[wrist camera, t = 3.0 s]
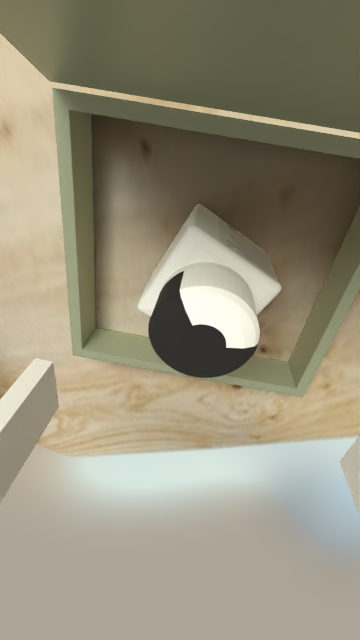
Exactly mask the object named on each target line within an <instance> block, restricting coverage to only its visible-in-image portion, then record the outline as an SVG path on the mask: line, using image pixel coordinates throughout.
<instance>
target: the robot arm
mask: <svg viewBox="0 0 360 640" xmlns="http://www.w3.org/2000/svg"><path fill="white" fill-rule="evenodd" d="M58 407H59V404H58V396H57V389H56V381H55V373H54V365H53V362H52V361H46V360H41V359H36V358H35V359H34V360H33V362H32V363H31V364H30V365H29V366H28V367H27V369H26V370H25V371H24V372H23V373H22V375H21V376H20V377H19V378H18V379H17V381H16V382H15V383H14V384H13V385H12V386H11V388H10V389H9V390H8V391H7V392H6V394H5V395H4V396H3V397H2V398H1V400H0V503H1V501H2V499H3V498H4V496H5V494H6V493H7V491H8V489H9V488H10V486H11V484H12V482H13V481H14V479H15V478H16V476H17V474H18V473H19V471H20V470H21V468H22V466H23V465H24V463H25V461H26V460H27V458H28V456H29V455H30V452H31V451H32V449H33V448H34V446H35V445H36V443H37V441H38V440H39V438H40V436H41V435H42V433H43V431H44V430H45V428H46V427H47V425H48V423H49V422H50V420H51V418H52V417H53V415H54V413H55V412H56V410H57V408H58ZM340 463H341V466H342V469H343V472H344V474H345V477H346V480H347V483H348V485H349V488H350V491H351V494H352V496H353V499H354V502H355V505H356V507H357V510H358V513H359V516H360V436H359V437H358V438H357V439H356V441H355V442H354V443H353V445H352V446H351V447H350V449H349V450H348V451H347V453H346V454H345V455H344V457H343V458H342V459H341V460H340Z"/></svg>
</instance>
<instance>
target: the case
mask: <svg viewBox="0 0 360 640" xmlns="http://www.w3.org/2000/svg"><path fill="white" fill-rule="evenodd" d="M52 90H53V103H54V116H55V129H56V142H57V155H58V168H59V181H60V194H61V207H62V220H63V233H64V246H65V259H66V272H67V285H68V298H69V311H70V324H71V337H72V350H73V355H75V356H80V357H85V358H91V359H96V360H102V361H107V362H113V363H118V364H124V365H129V366H135V367H140V368H146V369H151V370H156V371H162V372H167V373H173V374H178V375H184V376H188V375H185V374H182V373H180V372H178V371H176V370H174V369H173V368H171V367H170V366H168V365H167V364H166V363H165V362H163V361H162V360H161V359H160V358H159V356H158V355H157V354H156V352H155V351H154V349H153V347H152V345H151V342H150V339H149V337H144V336H139V335H133V334H128V333H122V332H116V331H111V330H105V329H100V328H96V313H95V264H94V214H93V164H92V114H95V115H101V116H107V117H113V118H119V119H125V120H131V121H137V122H143V123H149V124H155V125H161V126H167V127H173V128H179V129H185V130H191V131H197V132H203V133H209V134H215V135H221V136H227V137H233V138H238V139H244V140H250V141H256V142H262V143H268V144H274V145H280V146H286V147H292V148H298V149H304V150H310V151H316V152H322V153H328V154H334V155H340V156H346V157H352V158H358V159H360V139H356V138H350V137H344V136H338V135H332V134H326V133H320V132H314V131H308V130H302V129H296V128H290V127H284V126H278V125H272V124H266V123H260V122H254V121H248V120H242V119H236V118H230V117H224V116H218V115H212V114H206V113H200V112H194V111H188V110H182V109H176V108H170V107H164V106H158V105H152V104H146V103H140V102H134V101H128V100H122V99H116V98H110V97H104V96H98V95H92V94H86V93H80V92H74V91H68V90H62V89H56V88H52ZM359 290H360V205H359V207H358V209H357V212H356V214H355V216H354V218H353V220H352V223H351V225H350V227H349V229H348V232H347V234H346V236H345V238H344V240H343V243H342V245H341V247H340V249H339V251H338V254H337V256H336V258H335V260H334V263H333V265H332V267H331V269H330V271H329V274H328V276H327V278H326V280H325V282H324V285H323V287H322V289H321V291H320V294H319V296H318V298H317V300H316V302H315V305H314V307H313V309H312V311H311V313H310V316H309V318H308V320H307V322H306V325H305V327H304V329H303V331H302V333H301V336H300V338H299V340H298V342H297V344H296V347H295V349H294V351H293V353H292V355H291V358H290V360H289V362H282V361H277V360H271V359H266V358H260V357H254V356H252V357H251V358H250V359H249V360H248V361H247V362H246V363H245V364H244V365H243V366H241V367H240V368H238V369H237V370H235V371H233V372H231V373H228V374H226V375H223V376H219V377H213V378H200V379H206V380H211V381H217V382H222V383H227V384H233V385H238V386H244V387H249V388H255V389H260V390H266V391H271V392H277V393H282V394H288V395H293V396H298V397H303V395H304V394H305V392H306V390H307V388H308V386H309V384H310V382H311V380H312V379H313V377H314V375H315V373H316V371H317V369H318V367H319V365H320V364H321V362H322V360H323V358H324V356H325V354H326V352H327V350H328V348H329V347H330V345H331V343H332V341H333V339H334V337H335V335H336V333H337V332H338V330H339V328H340V326H341V324H342V322H343V320H344V318H345V317H346V315H347V313H348V311H349V309H350V307H351V305H352V303H353V302H354V300H355V298H356V296H357V294H358V292H359ZM189 377H192V376H189ZM195 378H198V377H195Z"/></svg>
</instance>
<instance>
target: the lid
mask: <svg viewBox="0 0 360 640" xmlns="http://www.w3.org/2000/svg"><path fill="white" fill-rule="evenodd" d="M0 33H1V34H2V35H3V36H4V37H5V38H6V39H7V40H8V41H9V42H10V43H11V44H12V45H13V46H14V47H15V48H16V49H17V50H18V51H19V52H20V53H21V54H22V55H23V56H24V57H25V58H26V59H27V60H28V61H29V62H30V63H32V64H33V65H34V66H35V67H36V68H37V69H38V70H39V71H40V72H41V73H42V74H43V75H44V76H45V77H46V78H47V79H48V80H49V81H52V82H58V83H64V84H70V85H76V86H82V87H88V88H94V89H100V90H106V91H112V92H118V93H124V94H130V95H136V96H142V97H148V98H154V99H160V100H166V101H173V102H179V103H185V104H191V105H197V106H203V107H209V108H215V109H221V110H227V111H233V112H239V113H245V114H251V115H257V116H263V117H269V118H275V119H281V120H287V121H293V122H299V123H305V124H311V125H317V126H323V127H329V128H335V129H341V130H347V131H353V132H359V133H360V0H0Z"/></svg>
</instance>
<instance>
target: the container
mask: <svg viewBox="0 0 360 640" xmlns="http://www.w3.org/2000/svg"><path fill="white" fill-rule="evenodd" d="M280 291H281V285H280V282H279V280H278V278H277V275H276V273H275V270H274V268H273V266H272V263H271V261H270V259H269V256H268V254H267V252H266V251H265V250H264V249H262V248H261V247H260V246H258V245H257V244H255V243H254V242H253V241H251V240H250V239H249V238H247V237H246V236H244V235H243V234H242V233H240V232H239V231H237V230H236V229H235V228H233V227H232V226H231V225H229V224H228V223H226V222H225V221H224V220H222V219H221V218H219V217H218V216H217V215H215V214H214V213H213V212H211V211H210V210H208V209H207V208H206V207H204V206H203V205H201V204H197V205H196V206H195V207H194V209H193V210H192V212H191V213H190V215H189V217H188V218H187V220H186V221H185V223H184V224H183V226H182V227H181V229H180V230H179V232H178V234H177V235H176V237H175V238H174V240H173V241H172V243H171V244H170V246H169V247H168V249H167V250H166V252H165V254H164V255H163V257H162V258H161V260H160V261H159V263H158V264H157V266H156V267H155V269H154V271H153V273H152V275H151V277H150V279H149V282H148V284H147V286H146V288H145V290H144V292H143V294H142V296H141V298H140V300H139V302H138V305H137V308H138V310H139V311H140V312H142V313H144V314H145V315H147V316H149V317H150V322H149V331H148V332H149V339H150V342H151V345H152V347H153V349H154V351H155V352H156V354H157V355H158V356H159V358H160V359H161V360H162V361H163V362H165V363H166V364H167V365H168V366H170V367H171V368H173V369H174V370H176V371H178V372H180V373H182V374H185V375H188V376H192V377H198V378H213V377H219V376H223V375H226V374H228V373H231V372H233V371H235V370H237V369H238V368H240V367H241V366H243V365H244V364H245V363H246V362H247V361H248V360H249V359H250V358H251V357H252V355H253V354H254V352H255V350H256V348H257V346H258V342H259V337H260V330H259V323H258V319H257V315H258V314H259V313H260V312H261V311H262V310H263V309H264V308H265V307H266V306H267V305H268V304H269V303H270V302H271V301H272V300H273V299H274V297H275V296H276V295H277V294H278V293H279V292H280Z"/></svg>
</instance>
